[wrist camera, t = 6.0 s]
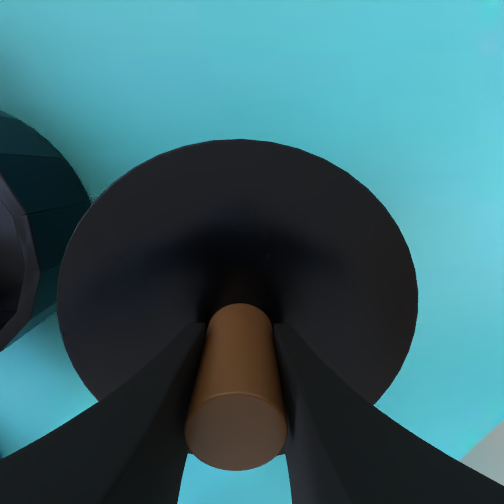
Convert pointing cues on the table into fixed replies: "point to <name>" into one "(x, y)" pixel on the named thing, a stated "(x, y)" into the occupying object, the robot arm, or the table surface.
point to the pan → (33, 225)
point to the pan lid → (237, 284)
